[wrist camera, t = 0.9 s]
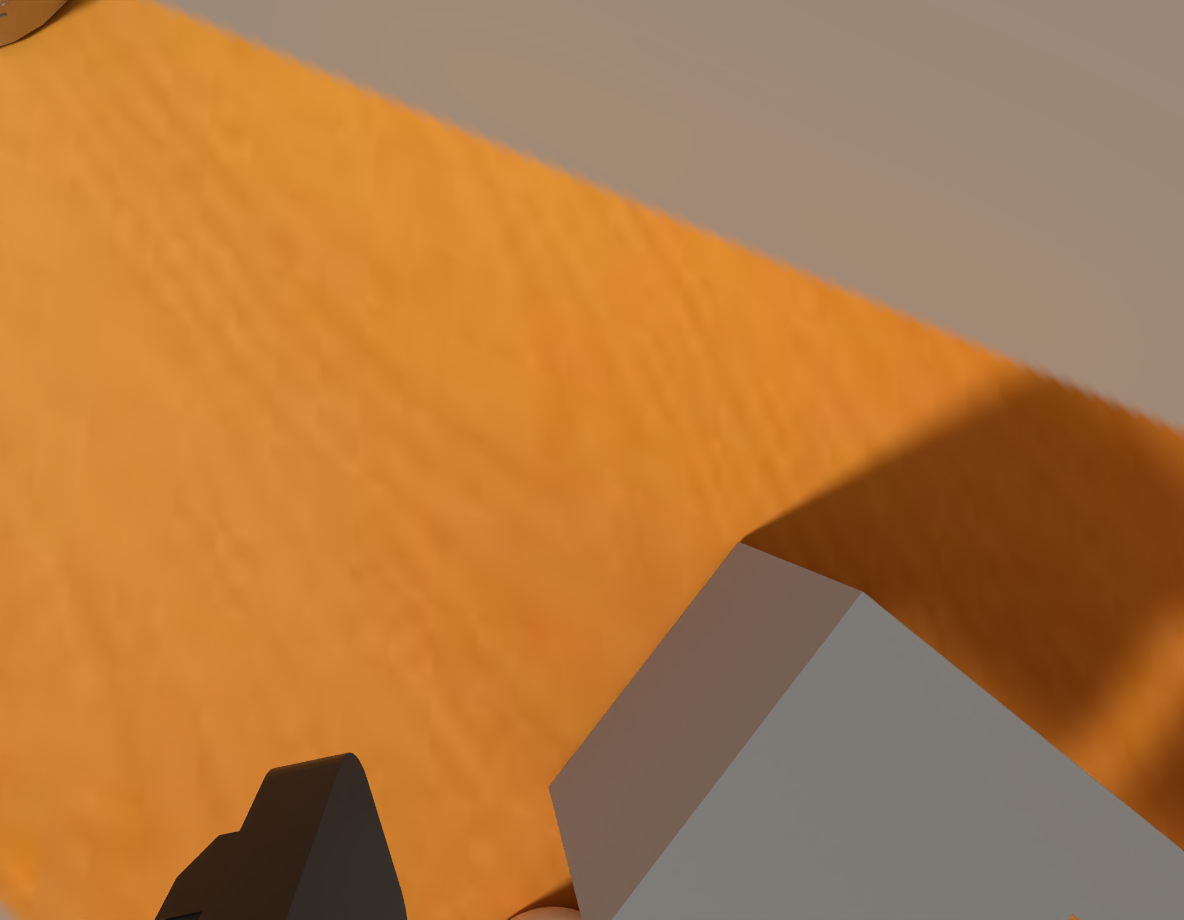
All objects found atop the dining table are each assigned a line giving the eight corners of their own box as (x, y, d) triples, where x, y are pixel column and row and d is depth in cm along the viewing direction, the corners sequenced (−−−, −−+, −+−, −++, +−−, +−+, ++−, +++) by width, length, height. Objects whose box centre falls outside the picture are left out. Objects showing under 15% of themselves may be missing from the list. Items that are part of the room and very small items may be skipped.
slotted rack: (549, 786, 35) (589, 949, 24) (739, 541, 36) (862, 591, 25) (1005, 1129, 37) (1232, 1420, 26) (1178, 893, 38) (1470, 1082, 27)
